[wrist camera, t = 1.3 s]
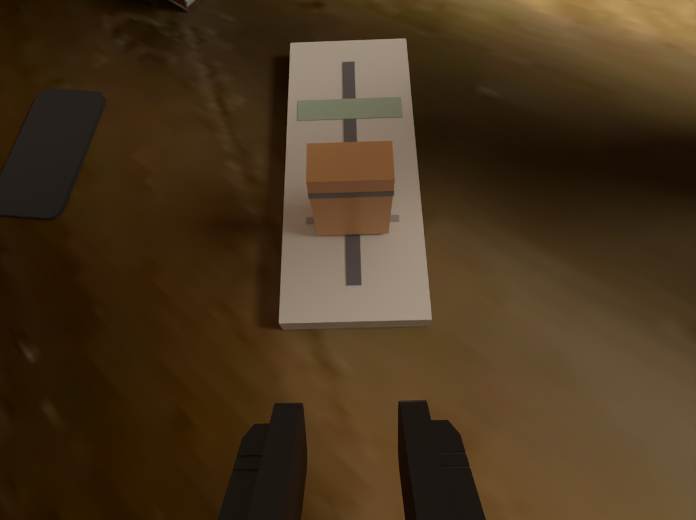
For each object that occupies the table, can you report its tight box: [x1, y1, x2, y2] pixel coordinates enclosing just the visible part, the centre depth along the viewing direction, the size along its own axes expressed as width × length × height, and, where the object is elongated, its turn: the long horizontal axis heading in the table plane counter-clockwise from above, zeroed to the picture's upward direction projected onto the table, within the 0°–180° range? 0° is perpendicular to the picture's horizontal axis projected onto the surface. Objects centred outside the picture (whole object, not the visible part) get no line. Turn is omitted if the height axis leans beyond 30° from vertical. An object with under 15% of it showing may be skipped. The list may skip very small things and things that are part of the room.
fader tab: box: [306, 141, 395, 236], centre depth 35 cm, size 3×6×8 cm, turn 91°
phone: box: [0, 89, 105, 220], centre depth 46 cm, size 7×1×15 cm
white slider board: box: [279, 39, 432, 330], centre depth 43 cm, size 30×12×2 cm, turn 1°
